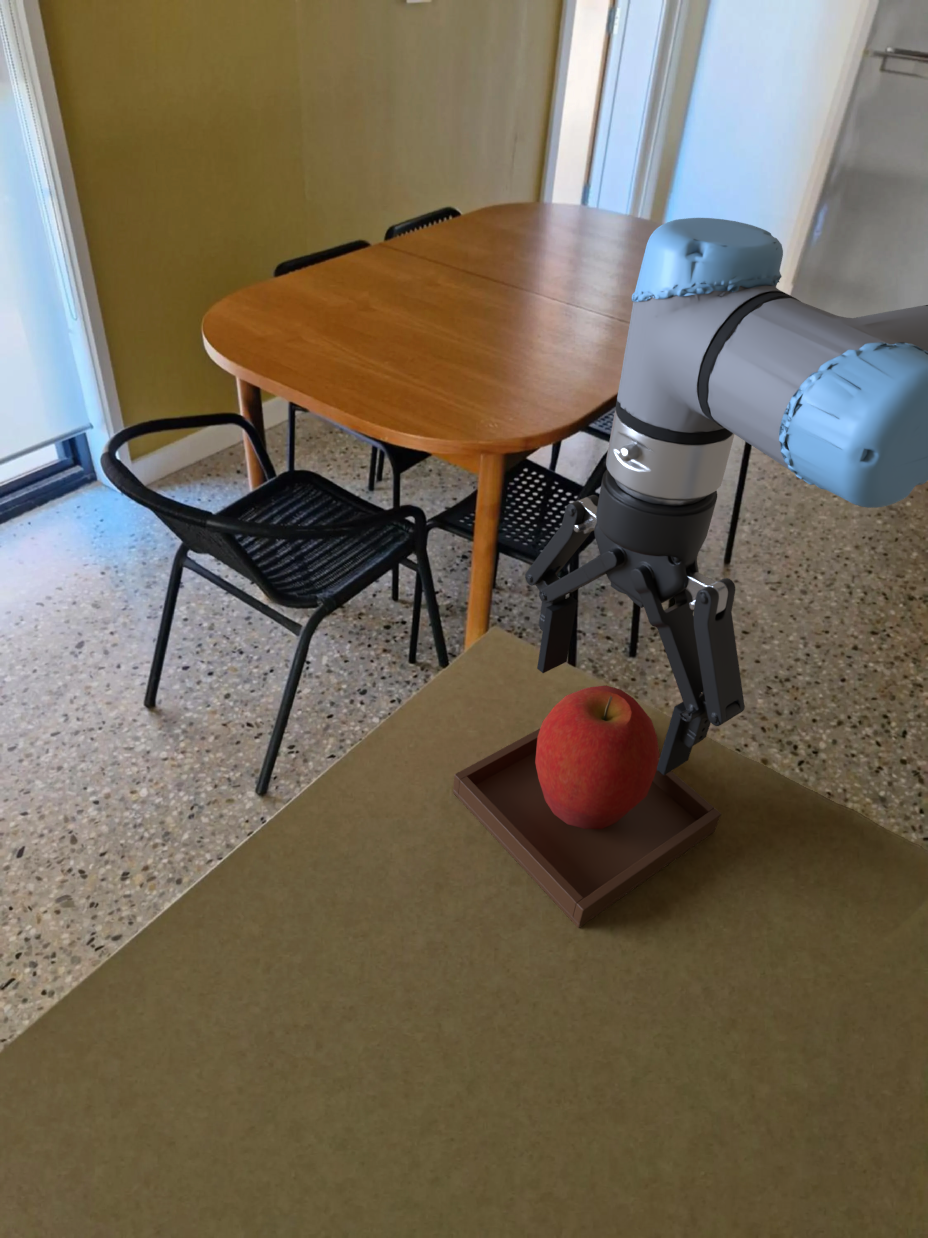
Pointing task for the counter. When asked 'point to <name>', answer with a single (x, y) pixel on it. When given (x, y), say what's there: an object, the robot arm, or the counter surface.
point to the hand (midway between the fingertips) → (608, 712)
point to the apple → (596, 756)
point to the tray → (581, 831)
